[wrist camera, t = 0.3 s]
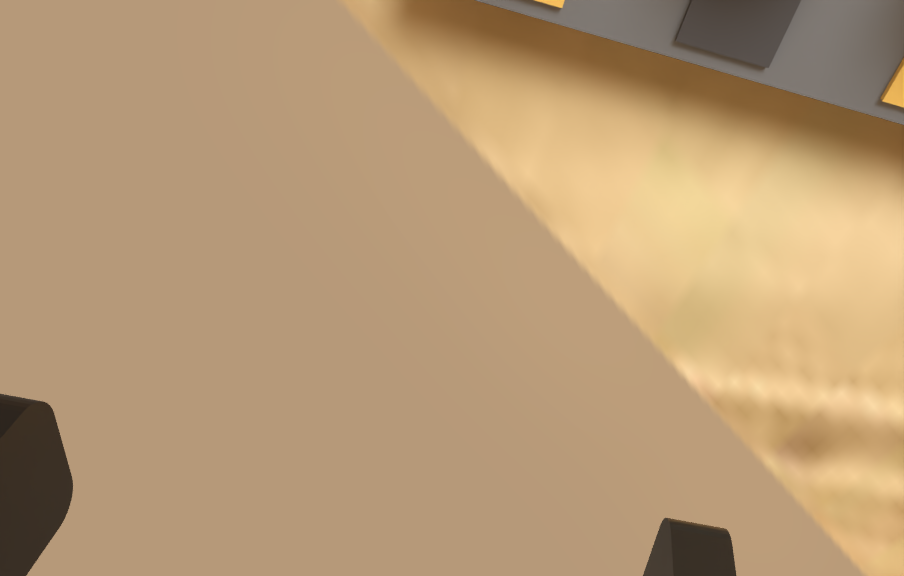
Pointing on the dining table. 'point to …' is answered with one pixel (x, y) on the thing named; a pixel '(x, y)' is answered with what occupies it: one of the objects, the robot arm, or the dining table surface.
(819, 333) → the dining table surface
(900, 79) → the button board
